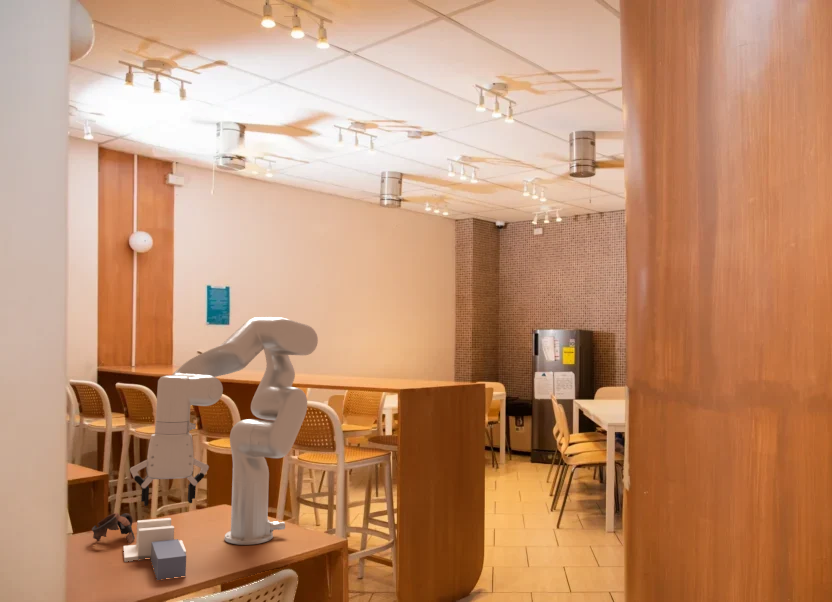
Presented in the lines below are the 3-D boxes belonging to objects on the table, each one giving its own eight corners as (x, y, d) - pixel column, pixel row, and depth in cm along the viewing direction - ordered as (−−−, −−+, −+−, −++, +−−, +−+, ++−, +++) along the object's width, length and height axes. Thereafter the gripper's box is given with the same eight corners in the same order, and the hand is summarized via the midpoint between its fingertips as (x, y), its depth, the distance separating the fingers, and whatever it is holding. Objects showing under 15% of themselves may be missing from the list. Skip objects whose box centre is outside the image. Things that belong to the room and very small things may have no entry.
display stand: (181, 544, 181) (182, 516, 181) (186, 555, 171) (187, 526, 172) (123, 549, 175) (124, 521, 175) (124, 561, 166) (125, 532, 166)
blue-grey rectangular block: (177, 560, 169) (177, 539, 169) (185, 578, 156) (186, 555, 156) (150, 563, 166) (151, 541, 166) (157, 582, 154) (157, 559, 154)
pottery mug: (128, 549, 177) (111, 522, 176) (97, 563, 179) (80, 536, 177) (148, 524, 189) (133, 499, 188) (120, 538, 190) (104, 513, 189)
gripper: (208, 426, 170) (204, 498, 168) (131, 427, 163) (127, 502, 161) (212, 430, 163) (208, 504, 162) (133, 431, 156) (128, 509, 155)
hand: (168, 503), depth 161 cm, fingers open, 9 cm apart
